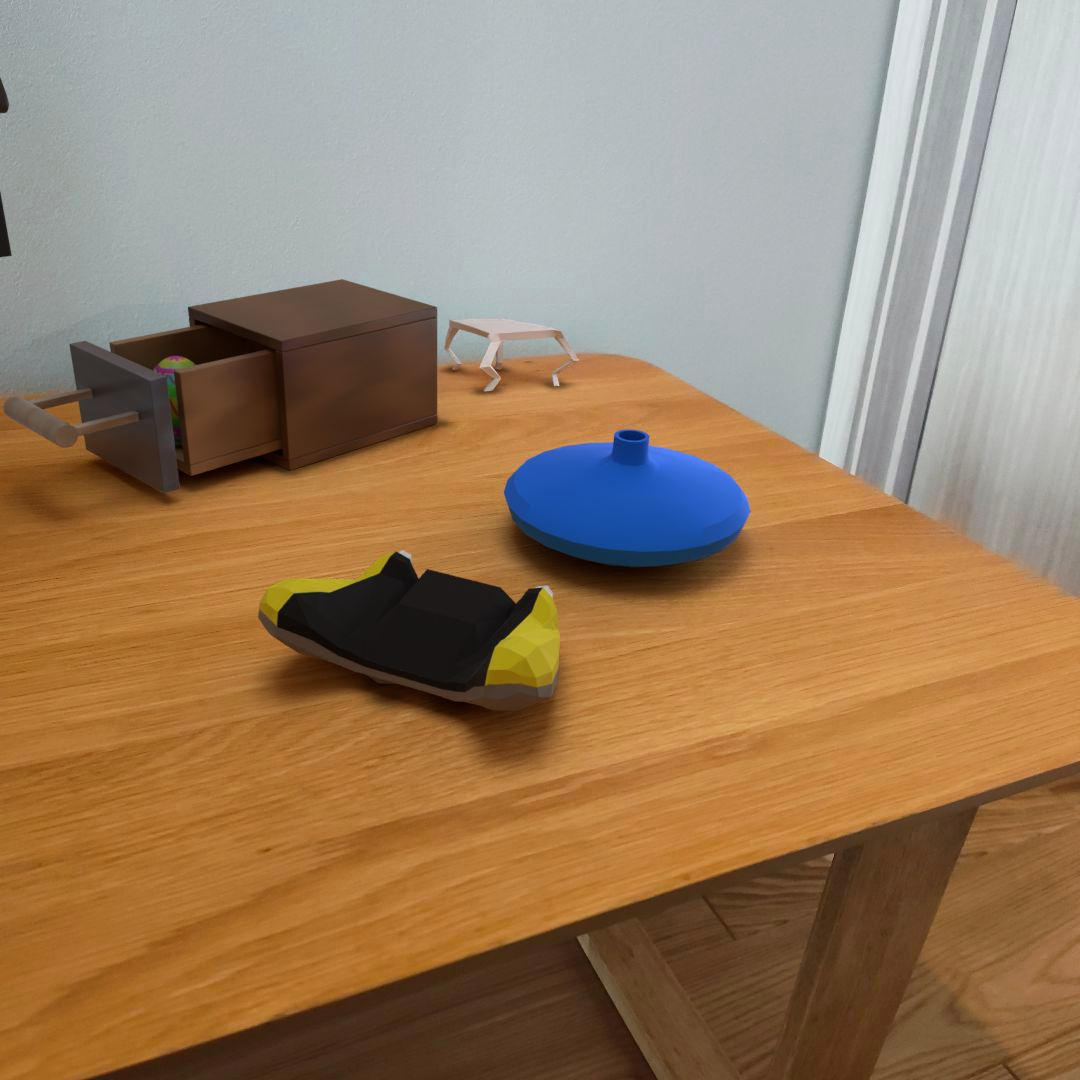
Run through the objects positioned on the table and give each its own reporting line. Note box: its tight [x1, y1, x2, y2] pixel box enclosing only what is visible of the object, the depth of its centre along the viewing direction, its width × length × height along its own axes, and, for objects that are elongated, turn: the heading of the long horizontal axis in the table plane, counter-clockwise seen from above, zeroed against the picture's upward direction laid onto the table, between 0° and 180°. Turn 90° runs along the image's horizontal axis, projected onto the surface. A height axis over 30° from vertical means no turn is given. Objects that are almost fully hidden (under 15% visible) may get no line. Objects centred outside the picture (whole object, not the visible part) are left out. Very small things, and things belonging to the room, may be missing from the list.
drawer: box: [2, 324, 282, 494], centre depth 74 cm, size 19×10×8 cm, turn 138°
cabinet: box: [187, 278, 438, 471], centre depth 83 cm, size 15×12×10 cm
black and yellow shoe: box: [257, 549, 561, 712], centre depth 53 cm, size 15×6×10 cm
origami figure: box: [443, 317, 580, 392], centre depth 96 cm, size 12×8×5 cm
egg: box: [153, 356, 195, 446], centre depth 74 cm, size 5×5×6 cm
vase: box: [503, 428, 751, 568], centre depth 68 cm, size 16×16×7 cm
